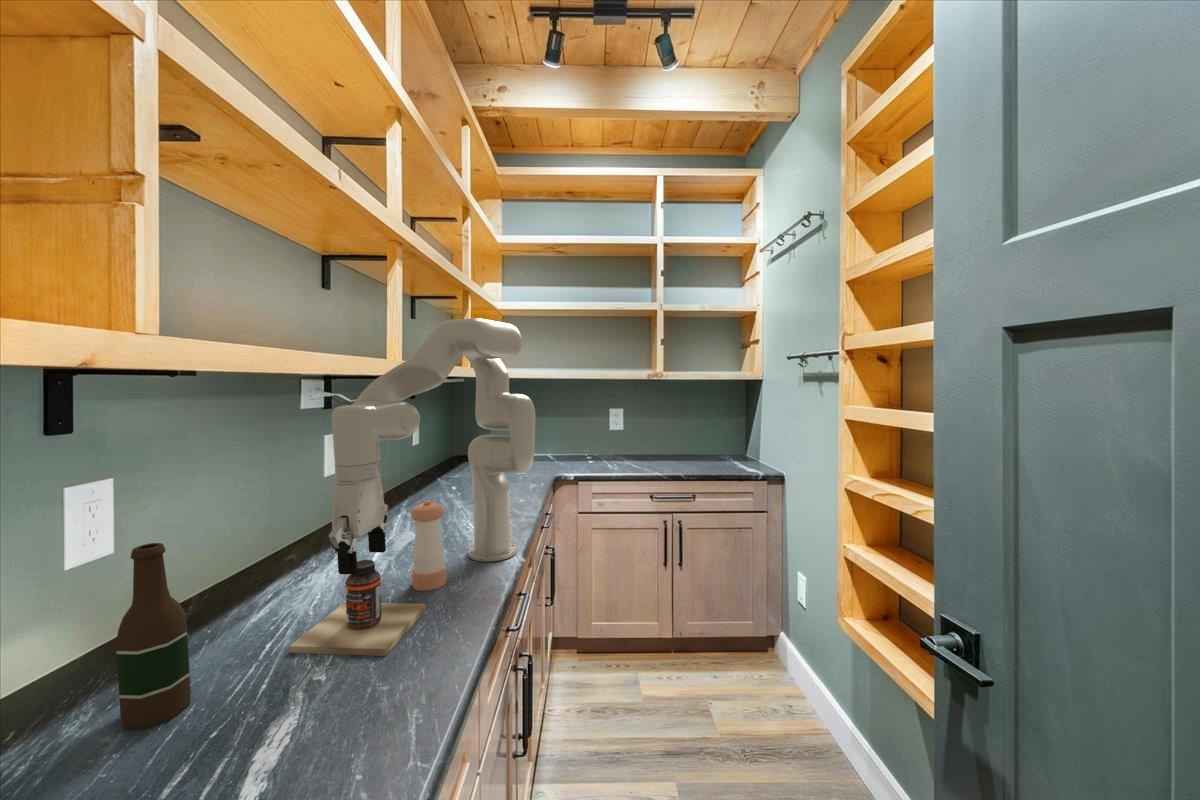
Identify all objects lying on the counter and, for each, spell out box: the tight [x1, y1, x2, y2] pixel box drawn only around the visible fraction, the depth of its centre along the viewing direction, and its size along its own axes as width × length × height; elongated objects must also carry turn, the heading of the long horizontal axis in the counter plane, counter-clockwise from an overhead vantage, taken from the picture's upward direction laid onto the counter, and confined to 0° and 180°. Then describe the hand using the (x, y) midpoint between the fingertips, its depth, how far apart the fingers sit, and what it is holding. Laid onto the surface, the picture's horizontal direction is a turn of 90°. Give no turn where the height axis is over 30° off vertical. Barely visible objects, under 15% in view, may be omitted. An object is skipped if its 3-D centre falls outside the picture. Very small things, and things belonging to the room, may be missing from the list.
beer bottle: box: [116, 542, 192, 730], centre depth 68 cm, size 8×8×24 cm
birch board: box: [289, 601, 427, 657], centre depth 90 cm, size 16×17×1 cm
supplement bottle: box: [345, 559, 382, 629], centre depth 90 cm, size 6×6×11 cm
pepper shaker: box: [410, 499, 447, 592], centre depth 109 cm, size 7×7×19 cm
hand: (363, 562), depth 90 cm, fingers open, 9 cm apart
